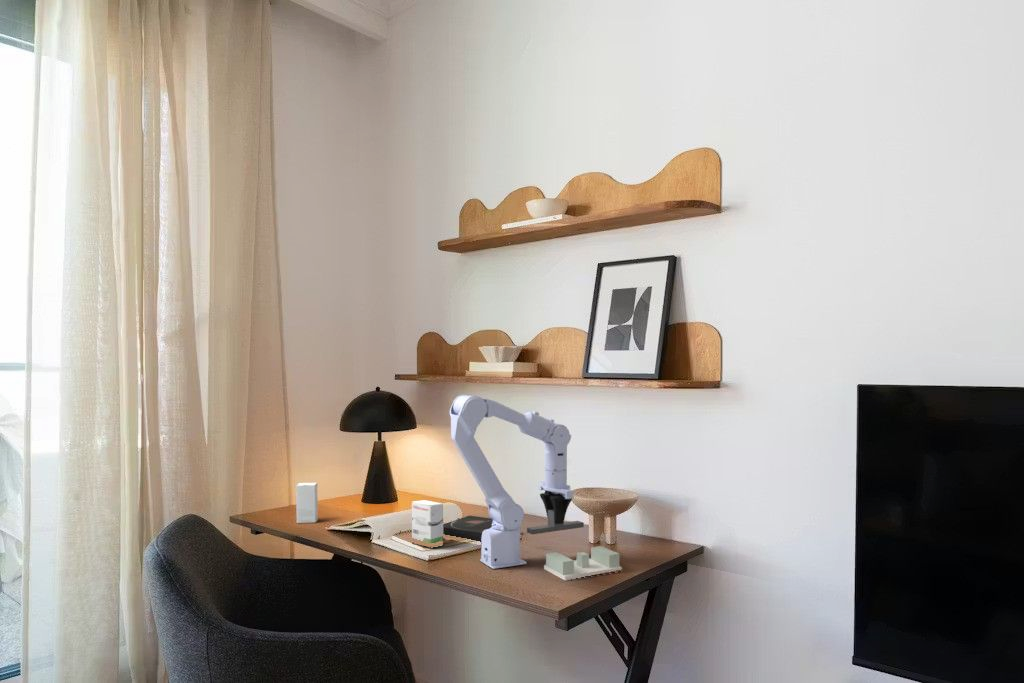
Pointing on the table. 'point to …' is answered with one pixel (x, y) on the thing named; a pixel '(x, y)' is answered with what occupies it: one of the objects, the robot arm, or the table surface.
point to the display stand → (582, 563)
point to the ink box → (427, 521)
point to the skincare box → (306, 502)
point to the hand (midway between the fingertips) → (555, 522)
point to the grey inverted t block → (554, 525)
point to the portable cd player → (468, 527)
